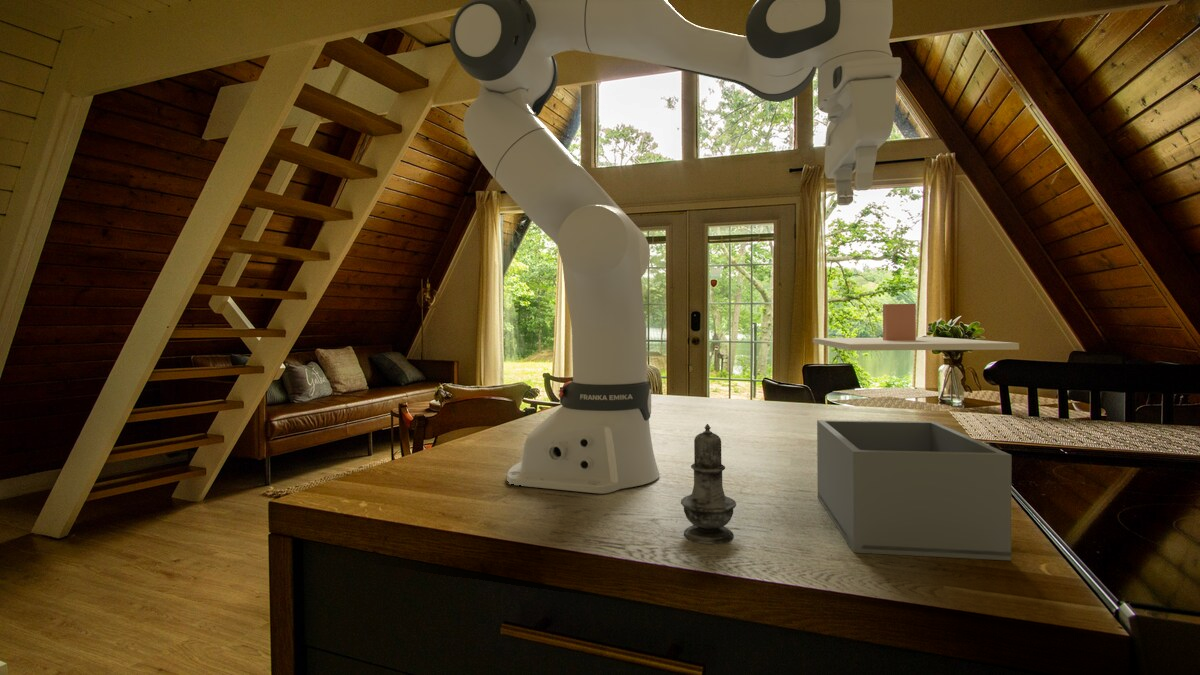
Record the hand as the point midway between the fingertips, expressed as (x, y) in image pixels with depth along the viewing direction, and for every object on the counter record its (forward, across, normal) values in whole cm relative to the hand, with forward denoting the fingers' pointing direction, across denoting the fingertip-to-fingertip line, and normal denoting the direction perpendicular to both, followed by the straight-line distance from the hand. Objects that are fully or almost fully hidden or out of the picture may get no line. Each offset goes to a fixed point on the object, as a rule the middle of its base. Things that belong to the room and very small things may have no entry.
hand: (853, 197), depth 75 cm
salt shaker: (+39, +18, -19) cm, 47 cm away
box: (+39, +12, +2) cm, 40 cm away
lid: (+19, +12, +2) cm, 22 cm away
